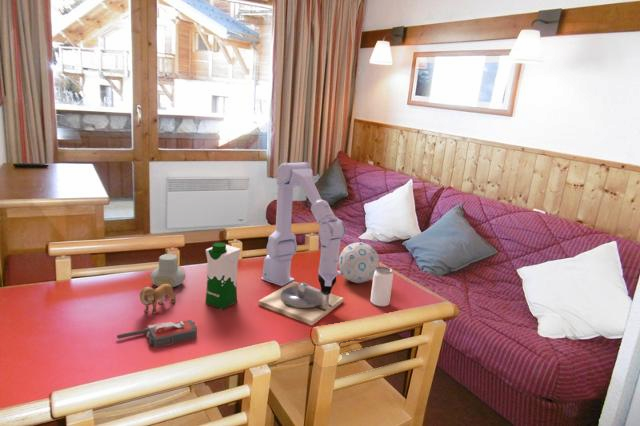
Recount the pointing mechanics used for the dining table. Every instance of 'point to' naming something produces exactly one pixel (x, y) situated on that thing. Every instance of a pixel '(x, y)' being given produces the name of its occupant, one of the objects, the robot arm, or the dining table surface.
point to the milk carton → (222, 275)
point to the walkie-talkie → (167, 333)
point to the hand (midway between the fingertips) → (325, 297)
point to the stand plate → (302, 315)
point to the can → (381, 286)
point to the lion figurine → (155, 296)
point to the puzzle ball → (358, 262)
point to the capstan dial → (304, 297)
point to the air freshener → (168, 271)
